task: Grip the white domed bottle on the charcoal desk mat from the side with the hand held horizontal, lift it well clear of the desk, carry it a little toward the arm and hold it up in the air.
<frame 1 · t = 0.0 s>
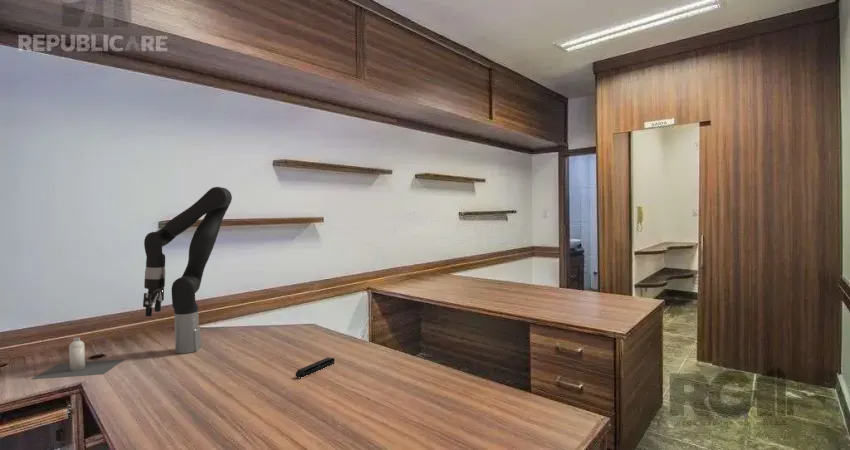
hand: (153, 313, 180), 17 cm above the table, tool pointing down, fingers open, 8 cm apart
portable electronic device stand: (316, 371, 161), on the table
desk mat: (80, 369, 162), on the table
white domed bottle: (77, 368, 162), resting on desk mat
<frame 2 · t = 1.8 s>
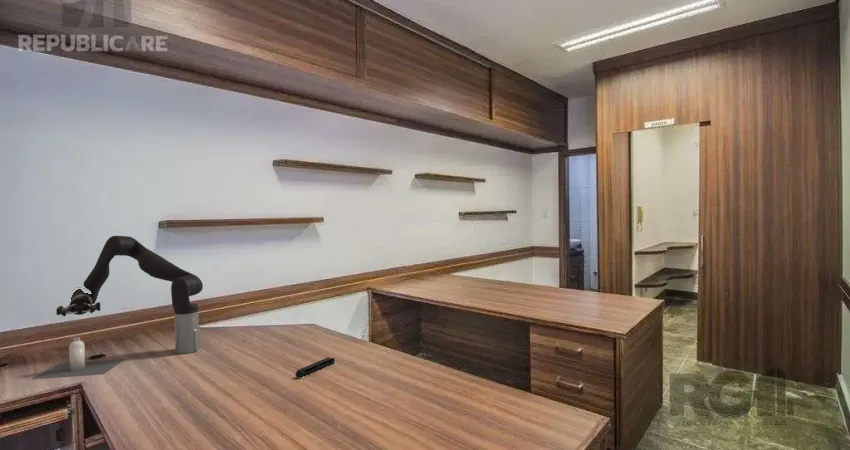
hand: (78, 312, 170), 21 cm above the table, tool horizontal, fingers open, 8 cm apart
nothing on the table moved.
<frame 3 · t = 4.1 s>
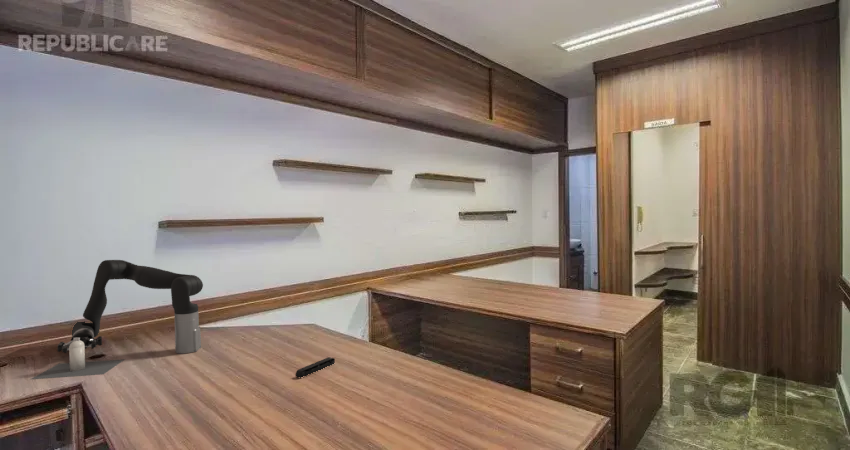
hand: (79, 348, 167), 6 cm above the table, tool horizontal, fingers open, 8 cm apart
nothing on the table moved.
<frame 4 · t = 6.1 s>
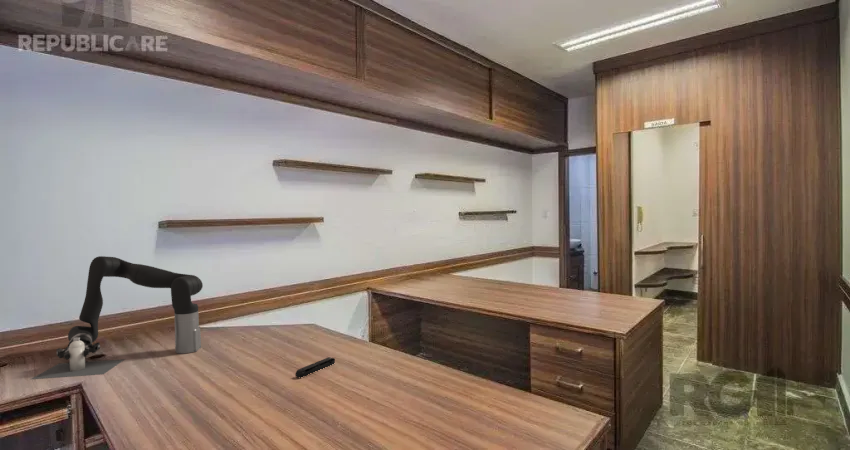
hand: (76, 355, 159), 7 cm above the table, tool horizontal, fingers closed on white domed bottle, 4 cm apart
white domed bottle: (77, 368, 162), resting on desk mat, touching gripper
everything else where it was.
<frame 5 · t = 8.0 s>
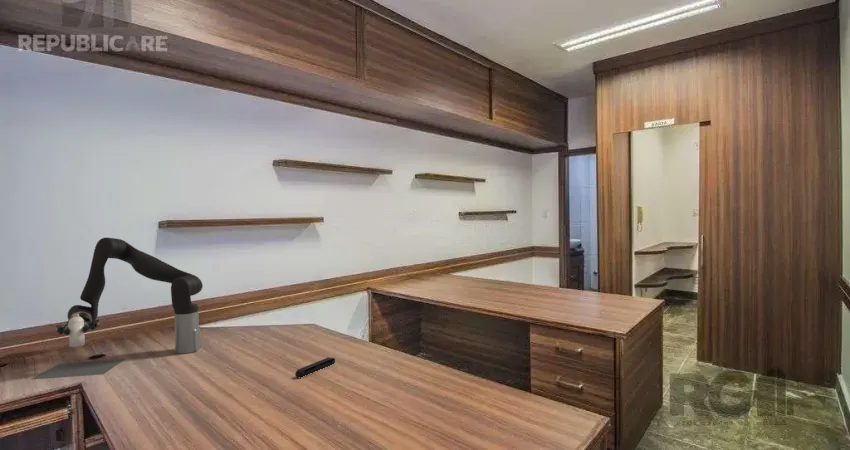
hand: (75, 331, 159), 16 cm above the table, tool horizontal, fingers closed on white domed bottle, 4 cm apart
white domed bottle: (77, 345, 161), point 10 cm above the table, touching gripper
everything else where it was.
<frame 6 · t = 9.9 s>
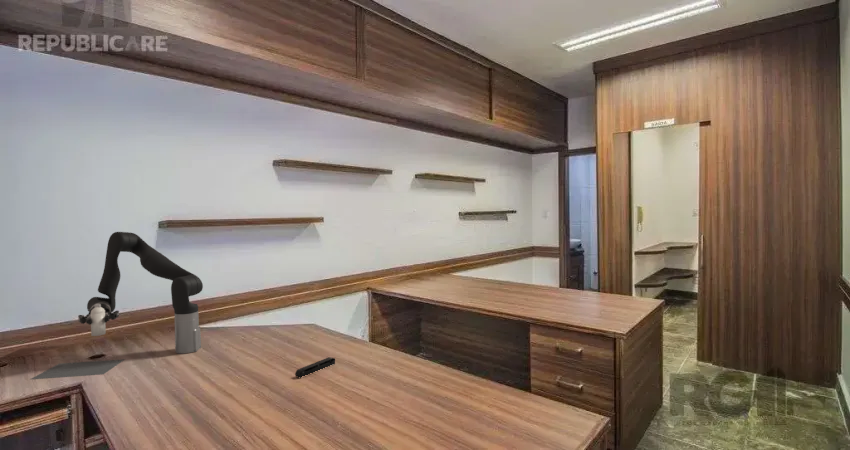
hand: (97, 320, 166), 18 cm above the table, tool horizontal, fingers closed on white domed bottle, 4 cm apart
white domed bottle: (98, 334, 169), point 12 cm above the table, touching gripper
everything else where it was.
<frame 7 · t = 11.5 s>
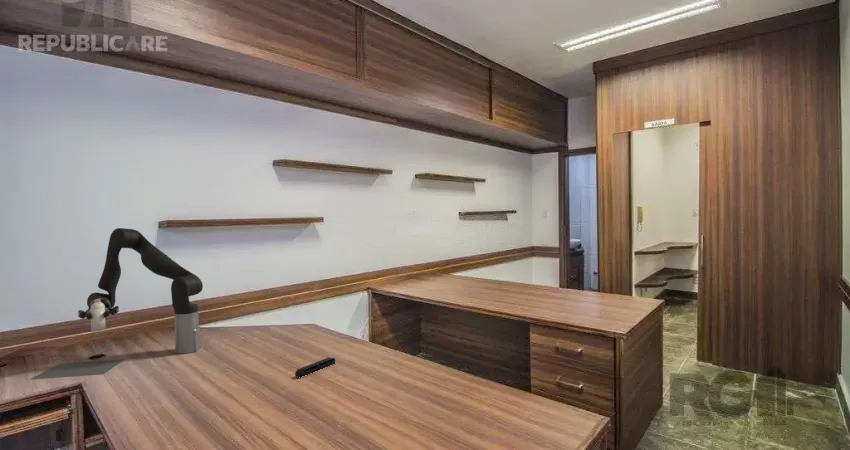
hand: (97, 316, 166), 20 cm above the table, tool horizontal, fingers closed on white domed bottle, 4 cm apart
white domed bottle: (98, 329, 169), point 14 cm above the table, touching gripper
everything else where it was.
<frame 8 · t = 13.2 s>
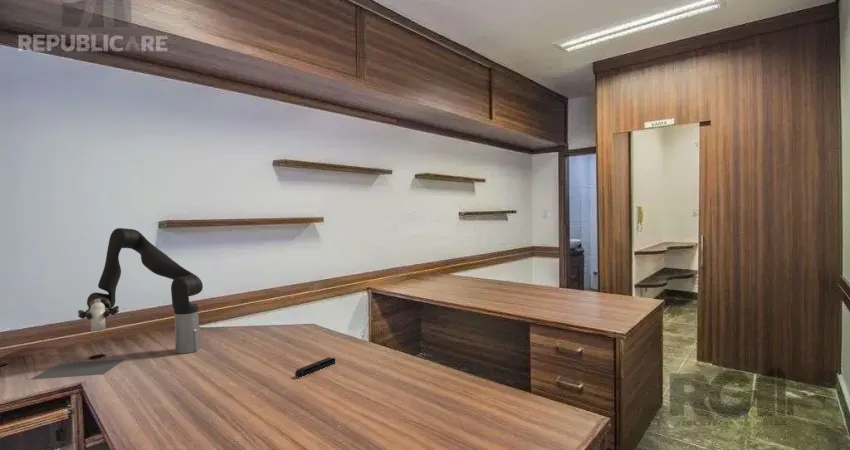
hand: (97, 316, 166), 20 cm above the table, tool horizontal, fingers closed on white domed bottle, 4 cm apart
white domed bottle: (98, 329, 169), point 14 cm above the table, touching gripper
everything else where it was.
at the end: the gripper is holding white domed bottle; white domed bottle point 13.8 cm above the table; white domed bottle tilted 0° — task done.
